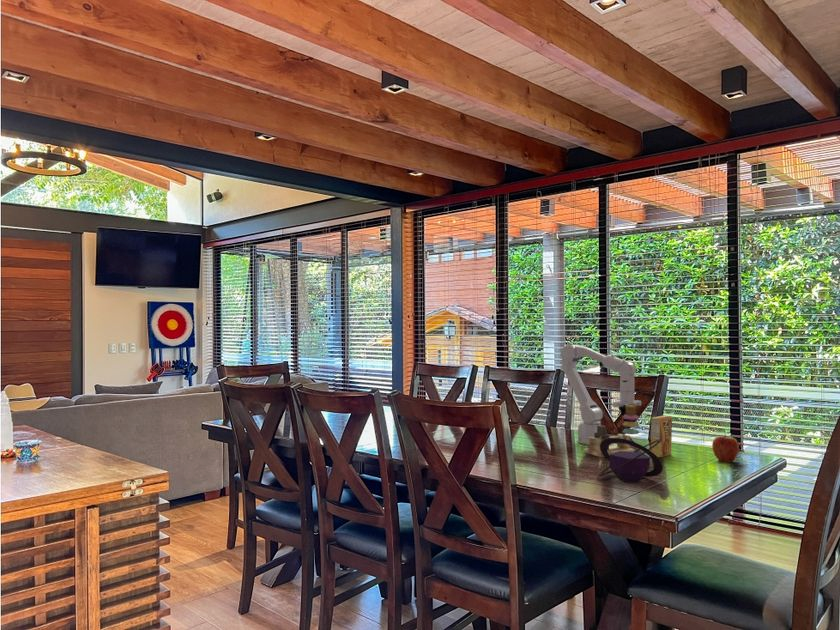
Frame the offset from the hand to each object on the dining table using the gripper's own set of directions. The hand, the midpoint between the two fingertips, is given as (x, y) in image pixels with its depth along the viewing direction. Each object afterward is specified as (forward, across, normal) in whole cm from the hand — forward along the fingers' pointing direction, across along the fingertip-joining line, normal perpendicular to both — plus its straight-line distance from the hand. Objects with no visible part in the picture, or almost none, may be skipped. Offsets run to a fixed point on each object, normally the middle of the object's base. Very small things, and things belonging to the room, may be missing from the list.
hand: (627, 423), depth 260 cm
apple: (+11, +16, -34) cm, 39 cm away
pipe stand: (+10, -13, -3) cm, 17 cm away
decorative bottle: (+11, -40, -39) cm, 57 cm away
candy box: (+11, +2, -16) cm, 19 cm away
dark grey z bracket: (+8, -17, -3) cm, 19 cm away
